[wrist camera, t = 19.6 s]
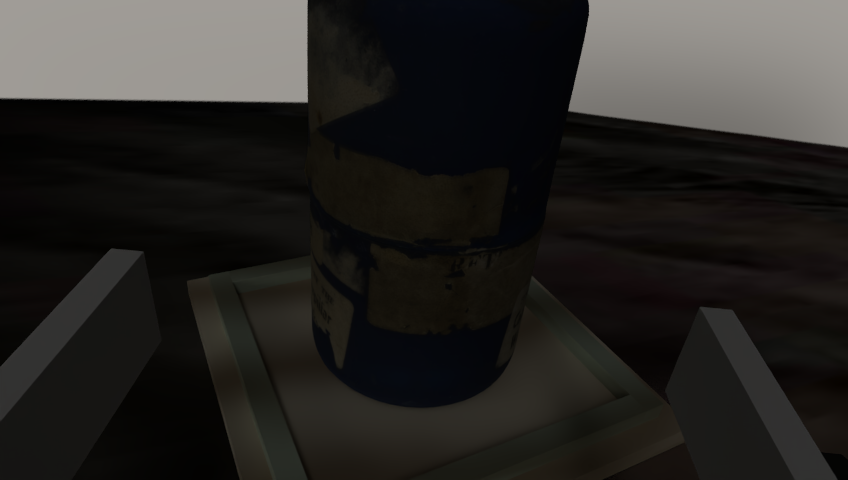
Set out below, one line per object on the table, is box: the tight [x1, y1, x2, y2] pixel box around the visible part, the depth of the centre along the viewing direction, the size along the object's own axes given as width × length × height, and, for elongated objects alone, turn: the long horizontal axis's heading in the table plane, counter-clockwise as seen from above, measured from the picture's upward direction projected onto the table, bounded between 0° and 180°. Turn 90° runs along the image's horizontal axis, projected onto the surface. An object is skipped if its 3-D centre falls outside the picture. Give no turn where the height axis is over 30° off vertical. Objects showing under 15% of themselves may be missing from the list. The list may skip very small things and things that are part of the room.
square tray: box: [187, 256, 685, 480], centre depth 29 cm, size 18×18×2 cm
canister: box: [305, 0, 589, 408], centre depth 24 cm, size 10×10×18 cm
